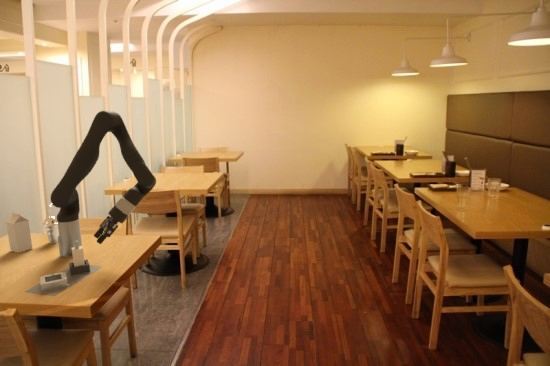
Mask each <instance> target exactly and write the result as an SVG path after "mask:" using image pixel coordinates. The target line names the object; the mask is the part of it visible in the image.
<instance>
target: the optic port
mask: <svg viewBox="0 0 550 366" xmlns="http://www.w3.org/2000/svg"><path fill="white" fill-rule="evenodd" d="M39 281H40V282H39V284H40V285H41V292H45V291H50V290H55V289H59V288H64V287H68V284H67V277H66V273H65V272H62V271H60V272H56V273H51V274H46V275H42V276H40V275H39ZM68 288H69V287H68Z"/></svg>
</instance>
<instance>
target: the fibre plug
mask: <svg viewBox="0 0 550 366" xmlns="http://www.w3.org/2000/svg"><path fill="white" fill-rule="evenodd" d="M74 244H75V247H72V255H73V257H72V262H73V263H74V267H77V266H82V265H85V262H84V260H85V256H84V255H85V253H84V248H83V245H82V246H79V241H74Z"/></svg>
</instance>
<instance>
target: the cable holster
mask: <svg viewBox="0 0 550 366" xmlns="http://www.w3.org/2000/svg"><path fill="white" fill-rule="evenodd" d="M84 262H85V265H82V266H77V267H74V263H73V261H72V262H68V266H69V267H70V272H71V275H76V274H81V273H85V272H90V266H89V265H90V262H89V261H88V259H84ZM69 267H68V268H69Z"/></svg>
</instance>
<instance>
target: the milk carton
mask: <svg viewBox="0 0 550 366" xmlns="http://www.w3.org/2000/svg"><path fill="white" fill-rule="evenodd" d="M5 224H6V230H7V235H8V236H7V237H8V243H9V248H10V251H11V250H12V251H11V252H13V251H14V253H16V252H17V253H16V254H20V253H23V252H26V250H27V251H30V250H33V249H32V248H33V243H32V242H33V241H32V235H31V229H30V223H29V220H28V219H27V218H25V215H23V214H21V213H18V212H11V215H10V216H9V218H8V219H7V220H6V222H5ZM29 249H30V250H29ZM22 251H23V252H22ZM19 252H20V253H19Z"/></svg>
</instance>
